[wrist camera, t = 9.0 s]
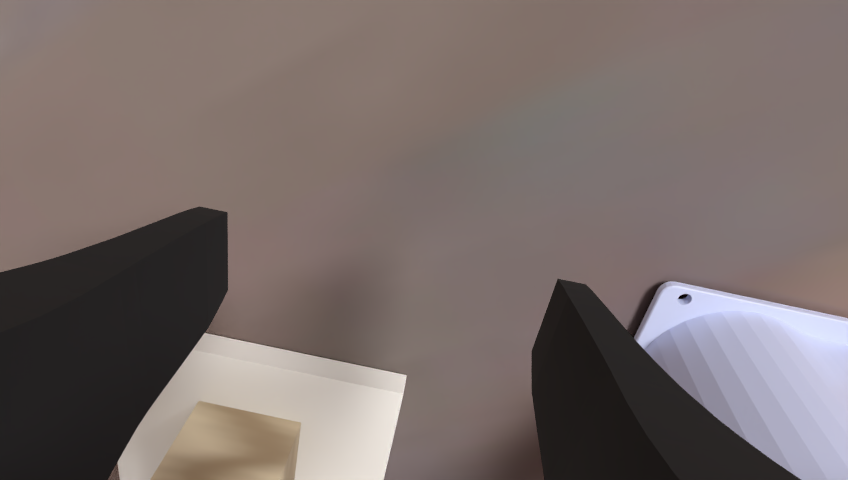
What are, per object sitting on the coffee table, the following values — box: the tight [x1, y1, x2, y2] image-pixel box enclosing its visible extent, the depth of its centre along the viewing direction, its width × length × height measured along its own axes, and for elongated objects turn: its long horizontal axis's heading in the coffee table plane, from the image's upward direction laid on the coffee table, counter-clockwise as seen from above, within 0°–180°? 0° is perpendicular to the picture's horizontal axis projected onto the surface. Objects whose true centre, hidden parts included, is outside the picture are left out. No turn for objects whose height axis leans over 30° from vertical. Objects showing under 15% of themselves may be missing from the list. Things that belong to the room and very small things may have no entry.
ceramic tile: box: [118, 333, 407, 480], centre depth 28 cm, size 14×12×1 cm
